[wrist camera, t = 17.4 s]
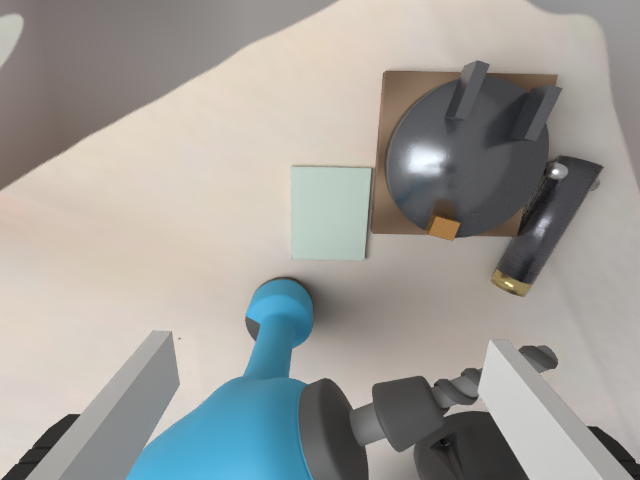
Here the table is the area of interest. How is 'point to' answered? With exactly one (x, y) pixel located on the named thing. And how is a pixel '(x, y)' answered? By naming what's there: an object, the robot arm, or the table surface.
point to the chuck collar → (469, 153)
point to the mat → (329, 212)
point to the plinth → (394, 102)
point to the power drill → (300, 410)
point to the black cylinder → (546, 222)
